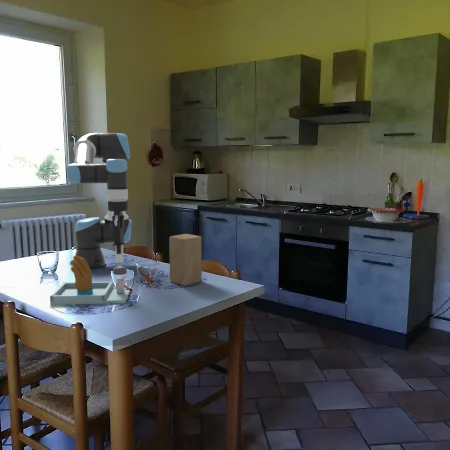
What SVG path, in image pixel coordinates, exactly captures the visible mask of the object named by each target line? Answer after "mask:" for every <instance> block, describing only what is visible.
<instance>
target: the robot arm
mask: <svg viewBox="0 0 450 450" xmlns="http://www.w3.org/2000/svg"><path fill="white" fill-rule="evenodd" d="M73 153H74V160H73V161H74V162H73V163H69V164H67V165H66V179H67V182H68V183H69V184H77V185H79V184H81V185H82V184H106V191H105V194H106V203H107V204H106V207H107V208H106V209H107V210H106V211H107V213H106V215H105V216H104V220H101V217H98V216H97V217H93V216H92V217H88V218H87V217H86V218H83V219H78V220H77V221H76V222H75V230H74V232H75V243H76V246H75V247H76V251H75V255H77V256H79V257H82V258H84V259H85V260H86V262H87V263H88V265H89V268H90V269H95V268H101V267H103V266H105V265H106V259H105V256H104V253H103V251H102V244H103V245H104V244H105V245H106V244H108V245H109V244H112V245H113V246H114V248H115V252H114V253H115V262H116V263H123V262H124V245H125V244H126V243H129V242H130V240H131V234H132V223H133V221H132V220H131V219H130V218H129V215H128V214H127V213H126V212H128V210H129V201H128V199H129V189H128V188H129V187H128V159H129V160H130V159H131V150H130V144H129V138H128V135H127V134H125V133H120V132H119V133H118V132H93V133H92V132H91V133H87V134H85V135H83V136H81V137H80V138H78V139H77V140H76V142H75V143H74V146H73ZM94 159H102V161H101V162H102V163H94ZM75 255H74V256H75Z"/></svg>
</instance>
